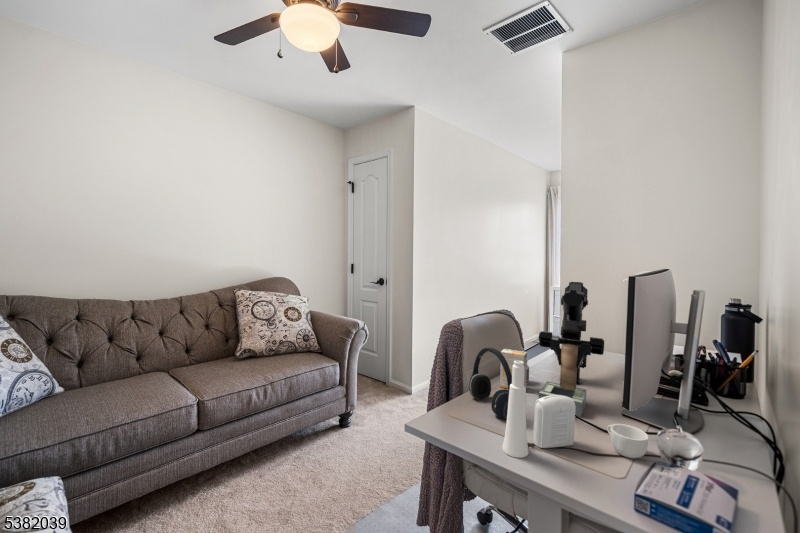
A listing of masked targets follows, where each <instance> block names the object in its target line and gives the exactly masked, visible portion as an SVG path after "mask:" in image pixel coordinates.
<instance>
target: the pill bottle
mask: <svg viewBox="0 0 800 533" xmlns="http://www.w3.org/2000/svg"><path fill="white" fill-rule="evenodd" d="M529 382H530V366H529V364H527V373H526V385H528V384H530V383H529Z"/></svg>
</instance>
